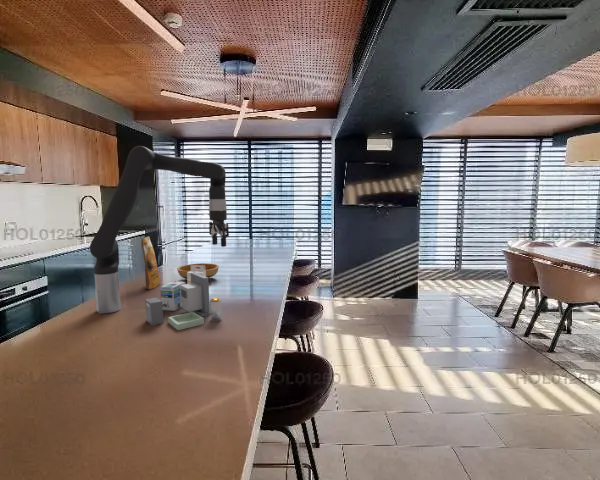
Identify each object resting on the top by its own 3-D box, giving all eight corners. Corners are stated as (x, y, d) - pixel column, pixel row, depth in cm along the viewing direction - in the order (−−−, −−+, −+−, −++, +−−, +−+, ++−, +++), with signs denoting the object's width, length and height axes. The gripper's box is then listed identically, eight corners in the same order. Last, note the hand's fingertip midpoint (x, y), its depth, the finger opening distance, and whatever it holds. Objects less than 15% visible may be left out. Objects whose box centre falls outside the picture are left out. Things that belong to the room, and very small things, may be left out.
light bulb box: (174, 311, 156) (173, 287, 155) (161, 310, 157) (159, 286, 156) (187, 303, 166) (186, 281, 165) (174, 303, 168) (172, 280, 166)
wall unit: (191, 319, 145) (189, 281, 143) (177, 309, 158) (175, 274, 156) (217, 313, 153) (215, 277, 151) (201, 304, 165) (200, 270, 163)
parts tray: (177, 330, 134) (177, 324, 133) (168, 322, 142) (167, 317, 141) (204, 323, 140) (203, 318, 140) (193, 316, 148) (193, 311, 148)
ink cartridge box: (187, 294, 181) (186, 266, 179) (191, 292, 186) (189, 264, 184) (203, 295, 180) (202, 266, 179) (207, 292, 185) (205, 265, 183)
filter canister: (213, 322, 142) (212, 301, 141) (208, 319, 145) (207, 298, 144) (223, 319, 144) (222, 299, 143) (218, 317, 148) (217, 296, 147)
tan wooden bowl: (180, 275, 225) (180, 263, 224) (219, 273, 230) (219, 261, 229) (174, 287, 196) (173, 273, 195) (219, 284, 201) (218, 271, 200)
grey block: (151, 325, 139) (150, 303, 138) (146, 320, 144) (145, 299, 143) (163, 322, 142) (162, 301, 141) (157, 318, 147) (156, 297, 146)
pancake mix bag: (139, 290, 190) (136, 239, 186) (151, 282, 209) (148, 234, 205) (152, 290, 191) (149, 238, 187) (163, 281, 209) (160, 234, 206)
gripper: (203, 209, 160) (204, 244, 162) (217, 210, 149) (218, 248, 151) (218, 208, 165) (219, 243, 167) (233, 209, 154) (234, 246, 156)
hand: (219, 245), depth 159 cm, fingers open, 8 cm apart
